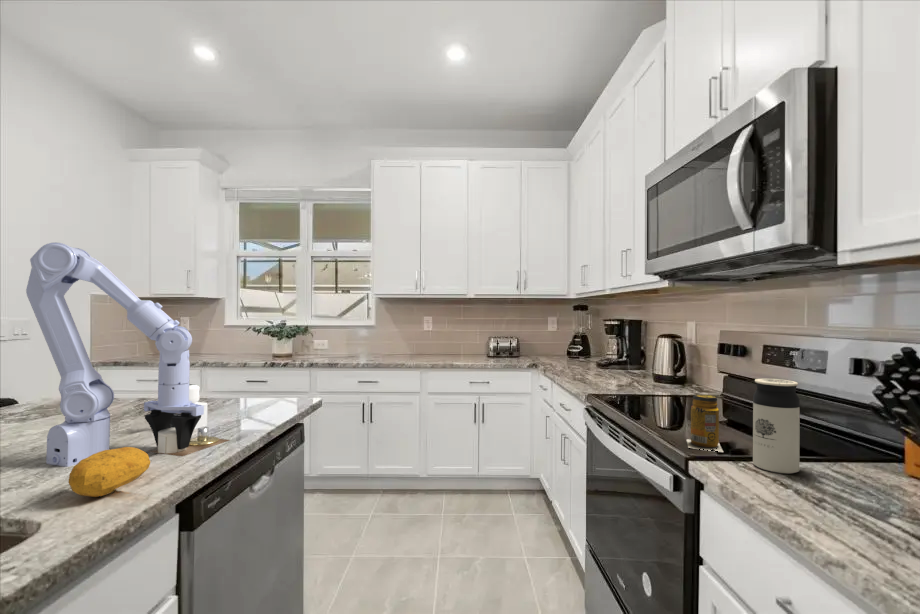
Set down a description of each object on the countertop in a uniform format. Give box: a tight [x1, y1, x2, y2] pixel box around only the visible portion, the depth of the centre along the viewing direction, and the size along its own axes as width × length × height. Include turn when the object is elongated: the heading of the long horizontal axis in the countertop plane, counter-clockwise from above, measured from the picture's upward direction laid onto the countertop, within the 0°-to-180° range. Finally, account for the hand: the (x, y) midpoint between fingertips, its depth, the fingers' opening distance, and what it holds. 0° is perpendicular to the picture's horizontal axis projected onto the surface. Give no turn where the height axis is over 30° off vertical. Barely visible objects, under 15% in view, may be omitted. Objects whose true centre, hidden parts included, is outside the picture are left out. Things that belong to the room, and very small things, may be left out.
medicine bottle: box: [170, 383, 209, 430], centre depth 119 cm, size 7×7×12 cm
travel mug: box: [752, 378, 801, 475], centre depth 97 cm, size 8×8×18 cm
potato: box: [68, 446, 151, 498], centre depth 80 cm, size 8×14×7 cm, turn 172°
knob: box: [189, 426, 220, 446], centre depth 106 cm, size 6×6×3 cm
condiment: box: [686, 393, 724, 453], centre depth 112 cm, size 7×8×12 cm
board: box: [149, 436, 231, 457], centre depth 103 cm, size 13×9×1 cm
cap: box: [157, 428, 187, 455], centre depth 100 cm, size 5×5×4 cm
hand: (172, 446), depth 100 cm, fingers closed on cap, 5 cm apart
